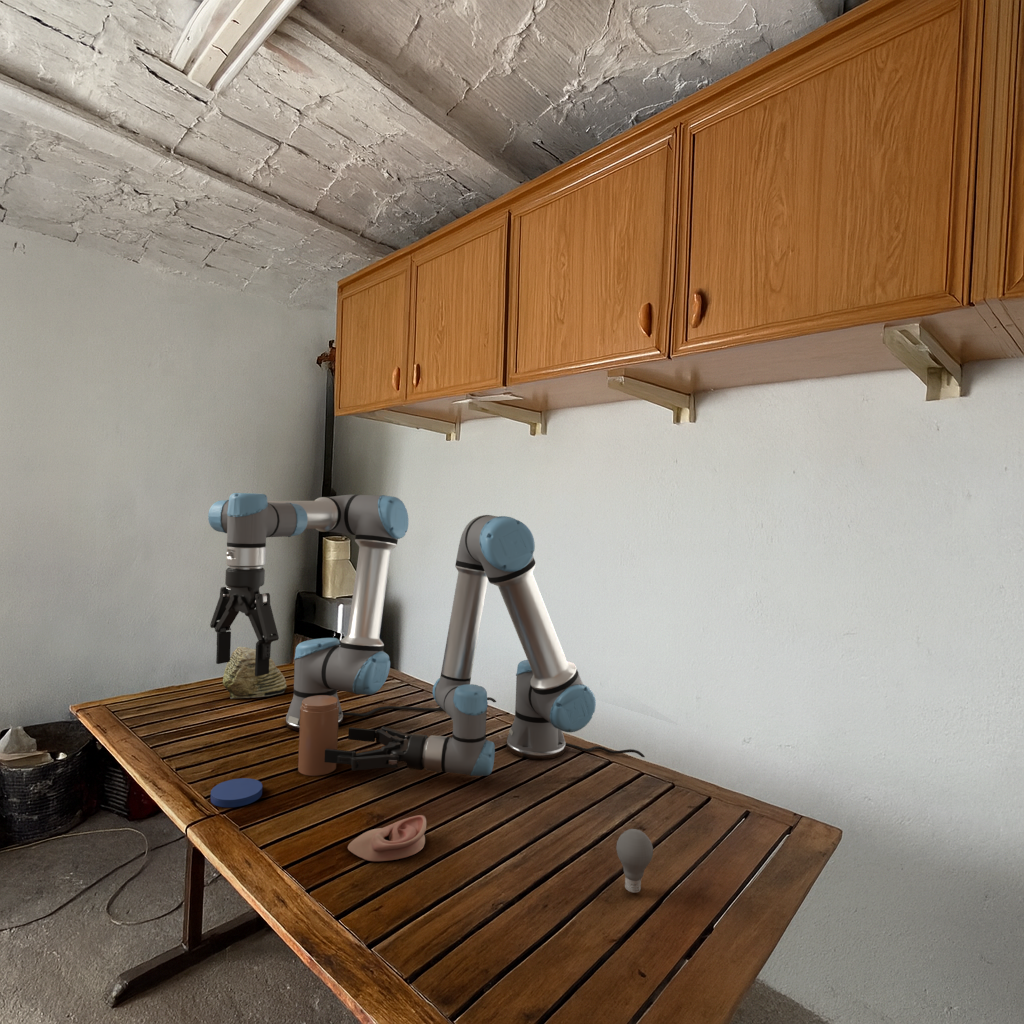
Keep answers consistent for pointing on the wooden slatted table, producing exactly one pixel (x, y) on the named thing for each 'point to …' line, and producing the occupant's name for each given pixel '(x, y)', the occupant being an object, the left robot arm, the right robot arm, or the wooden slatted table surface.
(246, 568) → the left robot arm
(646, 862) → the light bulb
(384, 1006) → the wooden slatted table surface
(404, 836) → the anatomical model
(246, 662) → the fossil
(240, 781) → the lid
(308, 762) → the jar
